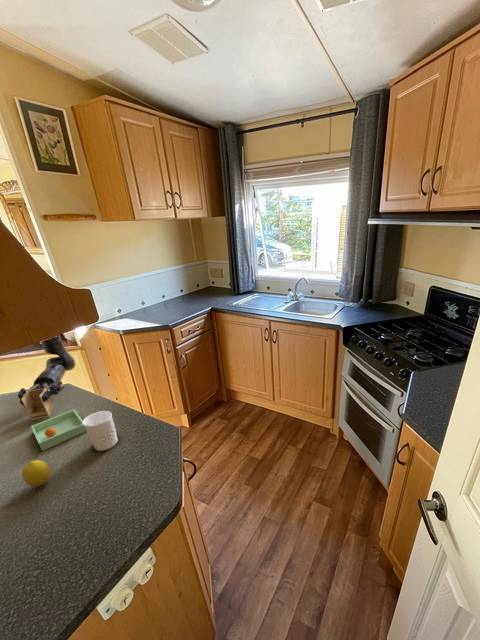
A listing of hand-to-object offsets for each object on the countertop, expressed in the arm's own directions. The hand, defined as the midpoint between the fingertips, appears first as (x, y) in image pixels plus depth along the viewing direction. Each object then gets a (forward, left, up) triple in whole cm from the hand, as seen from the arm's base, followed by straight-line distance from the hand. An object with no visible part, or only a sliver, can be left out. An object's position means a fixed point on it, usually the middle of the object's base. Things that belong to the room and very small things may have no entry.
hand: (33, 401), depth 103 cm
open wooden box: (+1, +2, -7) cm, 7 cm away
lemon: (-6, -36, -9) cm, 38 cm away
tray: (+3, -13, -8) cm, 16 cm away
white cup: (+12, -32, -9) cm, 35 cm away
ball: (0, -15, -6) cm, 16 cm away
